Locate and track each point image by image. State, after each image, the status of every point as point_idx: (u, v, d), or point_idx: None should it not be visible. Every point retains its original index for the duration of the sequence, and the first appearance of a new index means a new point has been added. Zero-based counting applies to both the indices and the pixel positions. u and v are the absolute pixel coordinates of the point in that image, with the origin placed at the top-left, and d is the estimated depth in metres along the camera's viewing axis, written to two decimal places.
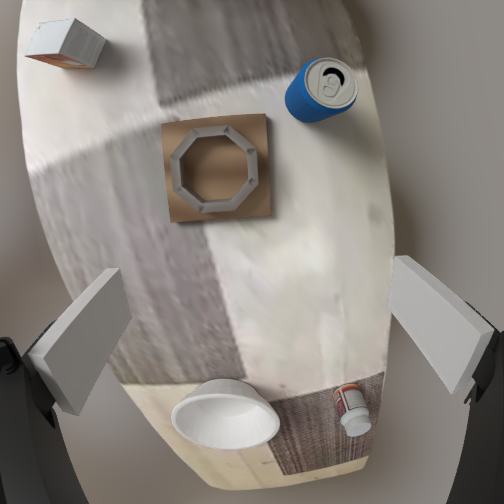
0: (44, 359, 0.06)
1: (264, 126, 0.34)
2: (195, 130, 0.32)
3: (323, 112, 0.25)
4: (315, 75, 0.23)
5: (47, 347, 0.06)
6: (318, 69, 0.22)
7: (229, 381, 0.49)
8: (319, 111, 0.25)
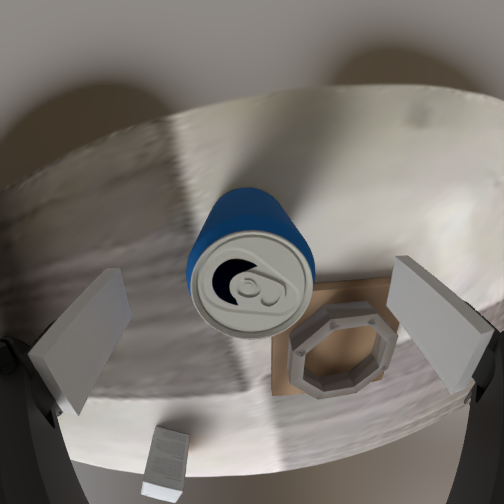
0: (44, 359, 0.06)
1: None
2: (293, 381, 0.25)
3: None
4: (238, 318, 0.13)
5: (47, 347, 0.06)
6: (223, 313, 0.13)
7: None
8: None
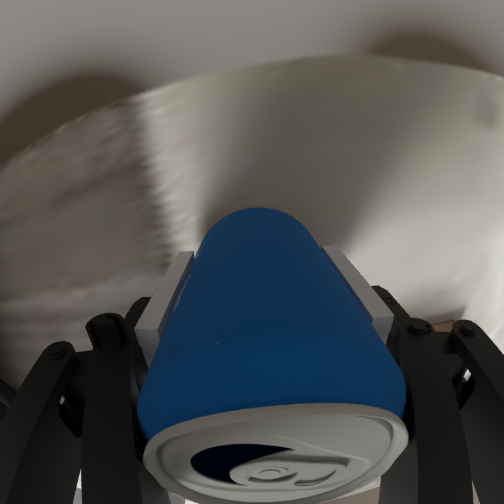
0: (157, 331, 0.08)
1: None
2: None
3: None
4: (248, 495, 0.05)
5: (156, 320, 0.08)
6: (219, 491, 0.05)
7: None
8: None
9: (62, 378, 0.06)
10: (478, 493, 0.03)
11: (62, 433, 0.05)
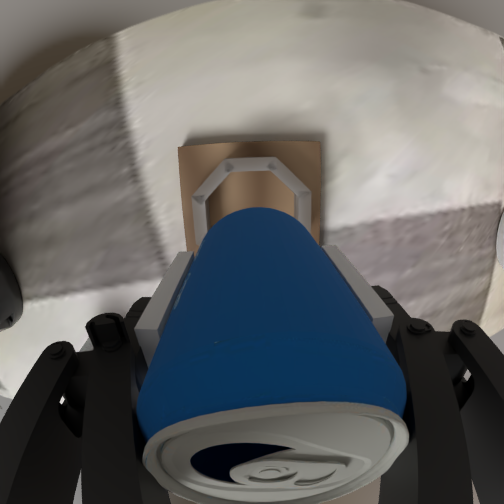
0: (157, 331, 0.08)
1: (195, 147, 0.25)
2: (198, 239, 0.26)
3: None
4: (248, 495, 0.05)
5: (156, 320, 0.08)
6: (219, 491, 0.05)
7: (502, 225, 0.29)
8: None
9: (62, 378, 0.06)
10: (478, 493, 0.03)
11: (62, 433, 0.05)
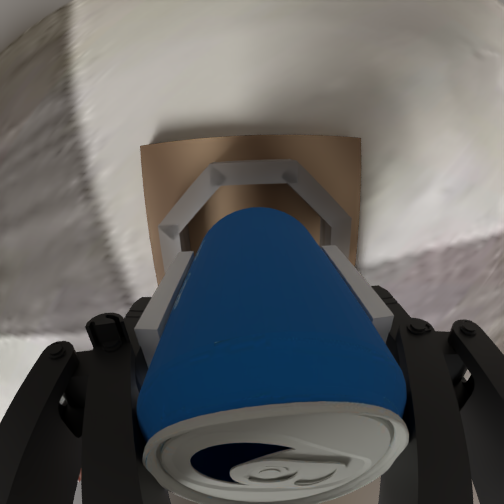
0: (157, 331, 0.08)
1: (166, 145, 0.16)
2: None
3: None
4: (248, 495, 0.05)
5: (156, 320, 0.08)
6: (219, 491, 0.05)
7: None
8: None
9: (62, 378, 0.06)
10: (478, 493, 0.03)
11: (62, 433, 0.05)
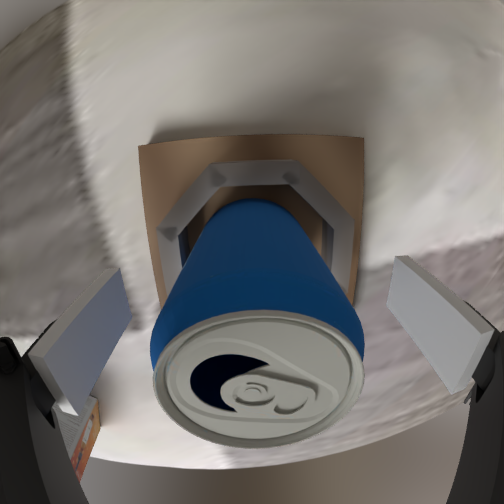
0: (44, 359, 0.06)
1: (165, 145, 0.15)
2: None
3: None
4: (237, 426, 0.07)
5: (47, 347, 0.06)
6: (213, 420, 0.07)
7: None
8: None
9: None
10: None
11: None
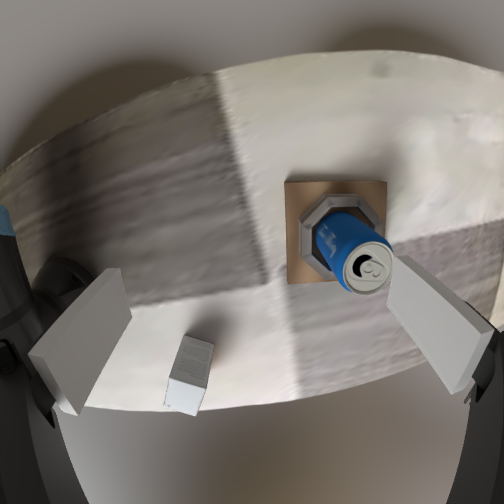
0: (44, 359, 0.06)
1: (299, 184, 0.34)
2: (304, 256, 0.35)
3: None
4: (361, 284, 0.26)
5: (47, 347, 0.06)
6: (355, 281, 0.26)
7: None
8: None
9: None
10: None
11: None
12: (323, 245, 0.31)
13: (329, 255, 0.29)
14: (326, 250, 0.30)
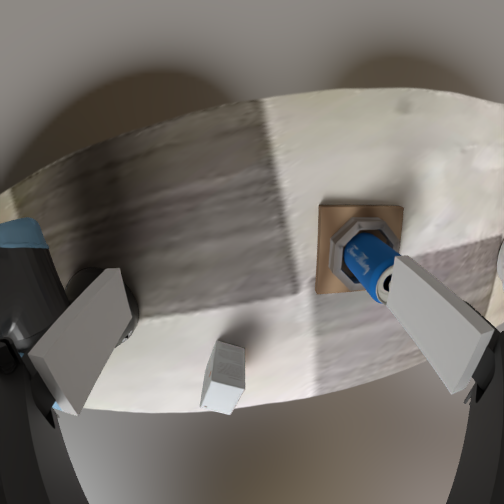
0: (44, 359, 0.06)
1: (333, 208, 0.39)
2: (335, 270, 0.39)
3: None
4: None
5: (47, 347, 0.06)
6: (384, 295, 0.31)
7: (501, 251, 0.42)
8: None
9: None
10: None
11: None
12: (354, 263, 0.36)
13: (362, 273, 0.33)
14: (358, 268, 0.35)
